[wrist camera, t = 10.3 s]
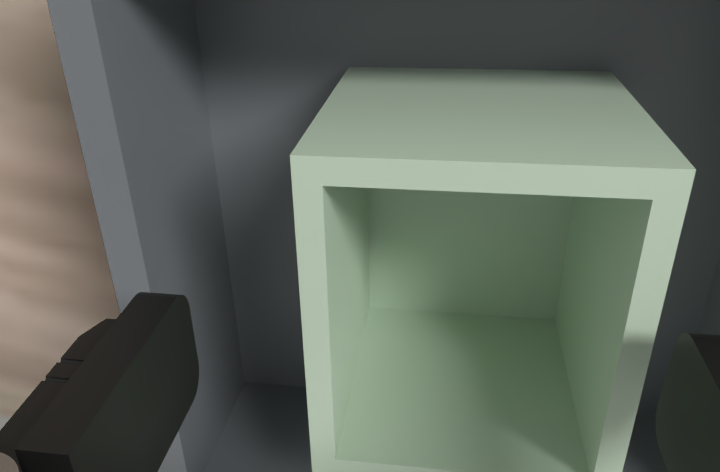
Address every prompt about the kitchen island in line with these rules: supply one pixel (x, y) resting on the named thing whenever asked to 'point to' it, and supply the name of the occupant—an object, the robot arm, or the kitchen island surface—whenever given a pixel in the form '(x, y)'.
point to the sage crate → (481, 268)
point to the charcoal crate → (273, 171)
